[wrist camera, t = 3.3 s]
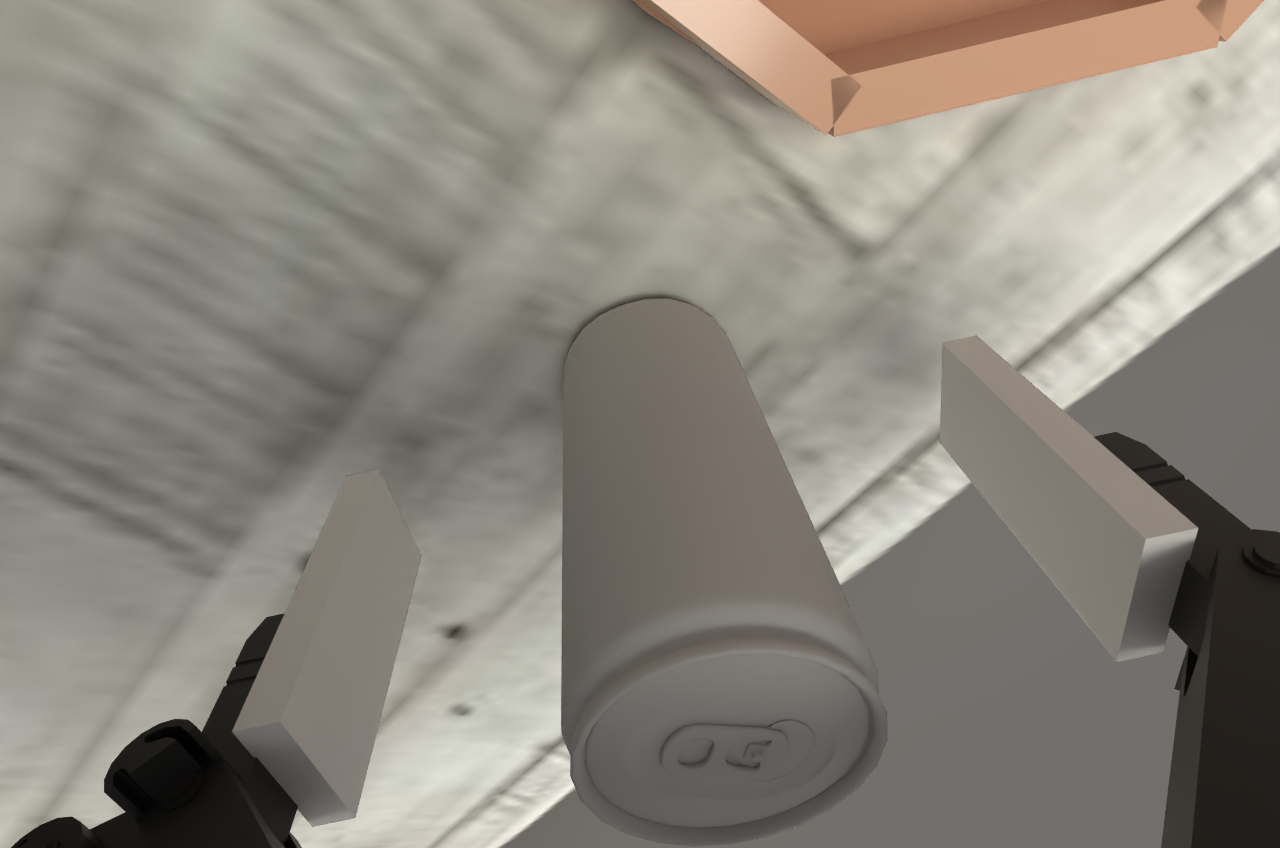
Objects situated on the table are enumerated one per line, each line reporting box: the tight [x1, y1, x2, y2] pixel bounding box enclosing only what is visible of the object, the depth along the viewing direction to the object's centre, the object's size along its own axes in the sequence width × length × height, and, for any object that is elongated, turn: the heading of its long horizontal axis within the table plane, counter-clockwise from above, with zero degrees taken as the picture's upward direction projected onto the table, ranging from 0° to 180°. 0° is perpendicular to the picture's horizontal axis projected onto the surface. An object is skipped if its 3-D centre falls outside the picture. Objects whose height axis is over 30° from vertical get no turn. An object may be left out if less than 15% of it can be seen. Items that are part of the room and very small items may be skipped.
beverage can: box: [561, 298, 887, 846], centre depth 15 cm, size 5×5×12 cm
